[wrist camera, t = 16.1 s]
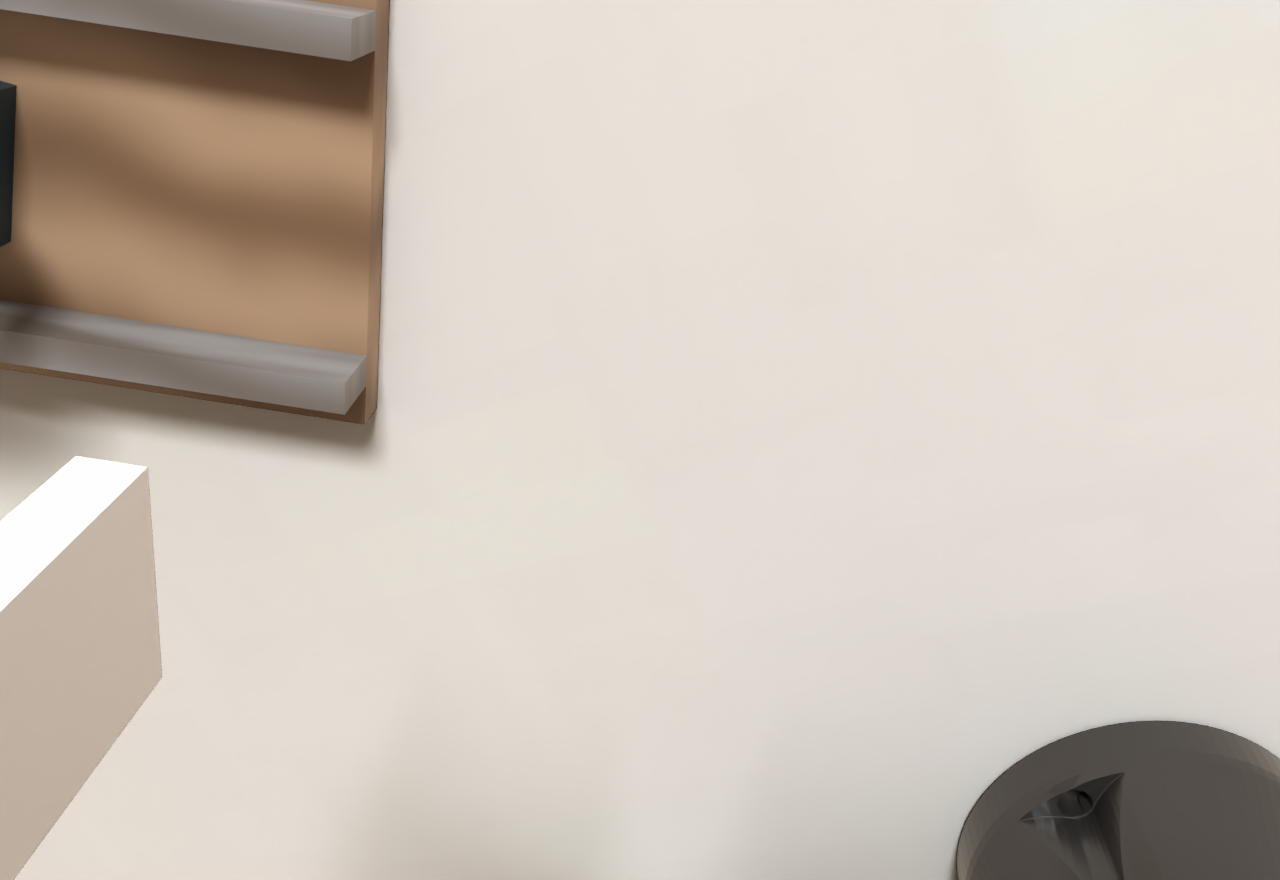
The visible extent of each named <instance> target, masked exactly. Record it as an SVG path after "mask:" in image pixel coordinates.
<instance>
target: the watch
mask: <svg viewBox="0 0 1280 880" xmlns="http://www.w3.org/2000/svg"><path fill="white" fill-rule="evenodd" d="M16 89H17V85H13V84H10V83H7V82H3V81H0V247H1V246H3V245H5V244H7V243H9V242H11V229H12V201H13V173H14V145H15V117H16Z"/></svg>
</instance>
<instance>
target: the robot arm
mask: <svg viewBox="0 0 1280 880" xmlns="http://www.w3.org/2000/svg"><path fill="white" fill-rule="evenodd" d="M161 678H162V666H161V651H160V636H159V622H158V607H157V592H156V578H155V563H154V548H153V534H152V519H151V504H150V490H149V475H148V467H146V466H139V465H133V464H126V463H120V462H113V461H107V460H101V459H94V458H88V457H81V456H75V457H74V458H73V459H72V460H71V461H69V462H68V463H67V464H66V465H65V466H64V467H62V468H61V469H60V470H59V471H58V472H57V473H55V474H54V475H53V476H52V477H51V478H50V479H48V480H47V481H46V482H45V483H44V484H43V485H41V486H40V487H39V488H38V489H37V490H36V491H34V492H33V493H32V494H31V495H30V496H29V497H27V498H26V499H25V500H24V501H23V502H22V503H20V504H19V505H18V506H17V507H16V508H15V509H13V510H12V511H11V512H10V513H9V514H8V515H6V516H5V517H4V518H3V519H2V520H1V521H0V880H14V879H15V878H16V876H17V875H18V873H19V872H20V871H21V869H22V868H23V867H24V865H25V864H26V862H27V861H28V860H29V858H30V857H31V856H32V854H33V853H34V852H35V850H36V849H37V847H38V846H39V845H40V843H41V842H42V841H43V839H44V838H45V836H46V835H47V834H48V832H49V831H50V830H51V828H52V827H53V826H54V824H55V823H56V821H57V820H58V819H59V817H60V816H61V815H62V813H63V812H64V811H65V809H66V808H67V806H68V805H69V804H70V802H71V801H72V800H73V798H74V797H75V795H76V794H77V793H78V791H79V790H80V789H81V787H82V786H83V785H84V783H85V782H86V780H87V779H88V778H89V776H90V775H91V774H92V772H93V771H94V769H95V768H96V767H97V765H98V764H99V763H100V761H101V760H102V759H103V757H104V756H105V754H106V753H107V752H108V750H109V749H110V748H111V746H112V745H113V743H114V742H115V741H116V739H117V738H118V737H119V735H120V734H121V733H122V731H123V730H124V728H125V727H126V726H127V724H128V723H129V722H130V720H131V719H132V717H133V716H134V715H135V713H136V712H137V711H138V709H139V708H140V707H141V705H142V704H143V702H144V701H145V700H146V698H147V697H148V696H149V694H150V693H151V691H152V690H153V689H154V687H155V686H156V685H157V683H158V682H159V681H160V679H161ZM957 873H958V880H1280V759H1279V758H1278V757H1276V756H1275V755H1274V754H1272V753H1271V752H1269V751H1268V750H1266V749H1265V748H1263V747H1261V746H1259V745H1258V744H1256V743H1254V742H1252V741H1250V740H1248V739H1246V738H1243V737H1241V736H1238V735H1236V734H1233V733H1230V732H1227V731H1224V730H1221V729H1217V728H1213V727H1209V726H1204V725H1199V724H1194V723H1186V722H1176V721H1137V722H1127V723H1119V724H1113V725H1107V726H1103V727H1098V728H1094V729H1090V730H1087V731H1083V732H1080V733H1077V734H1074V735H1071V736H1068V737H1065V738H1063V739H1061V740H1058V741H1056V742H1053V743H1051V744H1049V745H1047V746H1045V747H1043V748H1041V749H1039V750H1037V751H1036V752H1034V753H1032V754H1030V755H1029V756H1027V757H1026V758H1024V759H1022V760H1021V761H1019V762H1018V763H1017V764H1015V765H1014V766H1013V767H1011V768H1010V769H1009V770H1007V771H1006V772H1005V773H1004V774H1003V775H1001V776H1000V777H999V778H998V779H997V780H996V781H995V782H994V783H993V784H992V785H991V786H990V787H989V788H988V790H987V791H986V792H985V793H984V794H983V795H982V797H981V798H980V799H979V801H978V802H977V803H976V805H975V807H974V808H973V810H972V812H971V813H970V815H969V817H968V819H967V821H966V823H965V826H964V828H963V831H962V834H961V838H960V841H959V846H958V853H957Z"/></svg>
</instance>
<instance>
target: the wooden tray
mask: <svg viewBox="0 0 1280 880" xmlns="http://www.w3.org/2000/svg"><path fill="white" fill-rule="evenodd" d="M389 1H390V0H0V81H3V82H7V83H10V84H13V85H17V89H16V117H15V145H14V173H13V201H12V229H11V242H9V243H7V244H5V245H3V246H1V247H0V368H2V369H8V370H15V371H21V372H28V373H34V374H41V375H47V376H54V377H60V378H67V379H73V380H80V381H86V382H93V383H99V384H106V385H112V386H119V387H125V388H132V389H138V390H145V391H151V392H158V393H164V394H171V395H177V396H184V397H190V398H197V399H203V400H210V401H216V402H223V403H229V404H236V405H242V406H249V407H255V408H262V409H268V410H275V411H281V412H288V413H294V414H301V415H307V416H314V417H320V418H327V419H333V420H340V421H346V422H353V423H359V424H366V422H367V421H368V419H369V418H370V417H371V415H372V414H373V412H374V411H375V409H376V408H377V382H378V350H379V319H380V287H381V255H382V223H383V192H384V160H385V128H386V97H387V65H388V33H389Z"/></svg>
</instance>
